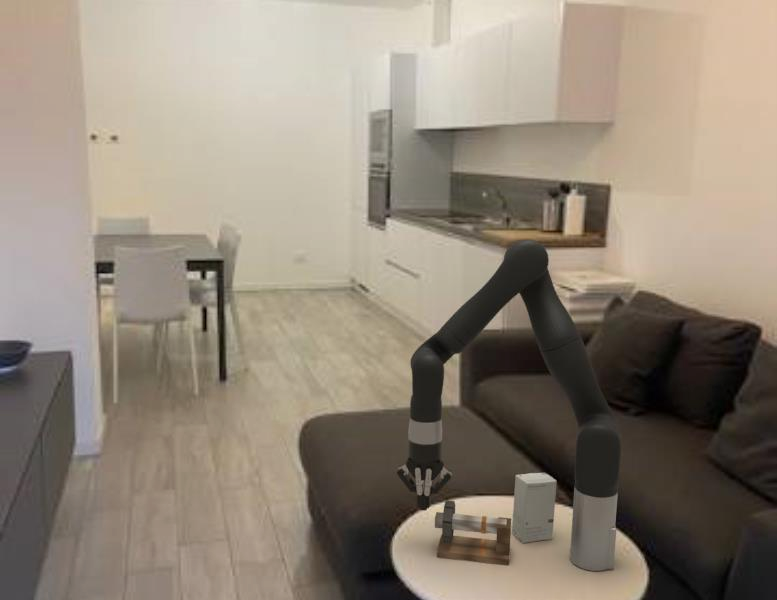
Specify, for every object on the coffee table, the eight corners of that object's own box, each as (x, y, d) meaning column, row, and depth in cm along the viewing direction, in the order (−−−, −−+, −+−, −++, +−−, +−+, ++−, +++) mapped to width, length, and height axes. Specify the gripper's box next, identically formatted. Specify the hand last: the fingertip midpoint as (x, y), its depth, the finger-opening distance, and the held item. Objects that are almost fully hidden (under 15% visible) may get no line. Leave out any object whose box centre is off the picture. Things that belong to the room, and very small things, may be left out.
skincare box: (522, 544, 180) (525, 484, 177) (510, 532, 186) (513, 474, 183) (554, 539, 183) (557, 480, 180) (541, 527, 188) (545, 470, 185)
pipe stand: (510, 547, 178) (511, 513, 177) (508, 565, 171) (510, 530, 169) (436, 539, 181) (437, 506, 180) (432, 556, 174) (433, 522, 172)
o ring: (454, 530, 180) (455, 495, 179) (450, 548, 172) (451, 512, 170) (445, 529, 181) (447, 495, 179) (441, 547, 172) (442, 511, 171)
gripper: (456, 433, 175) (454, 504, 179) (399, 428, 178) (397, 499, 181) (452, 445, 168) (450, 519, 171) (393, 440, 171) (392, 513, 174)
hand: (423, 508), depth 176 cm, fingers closed
